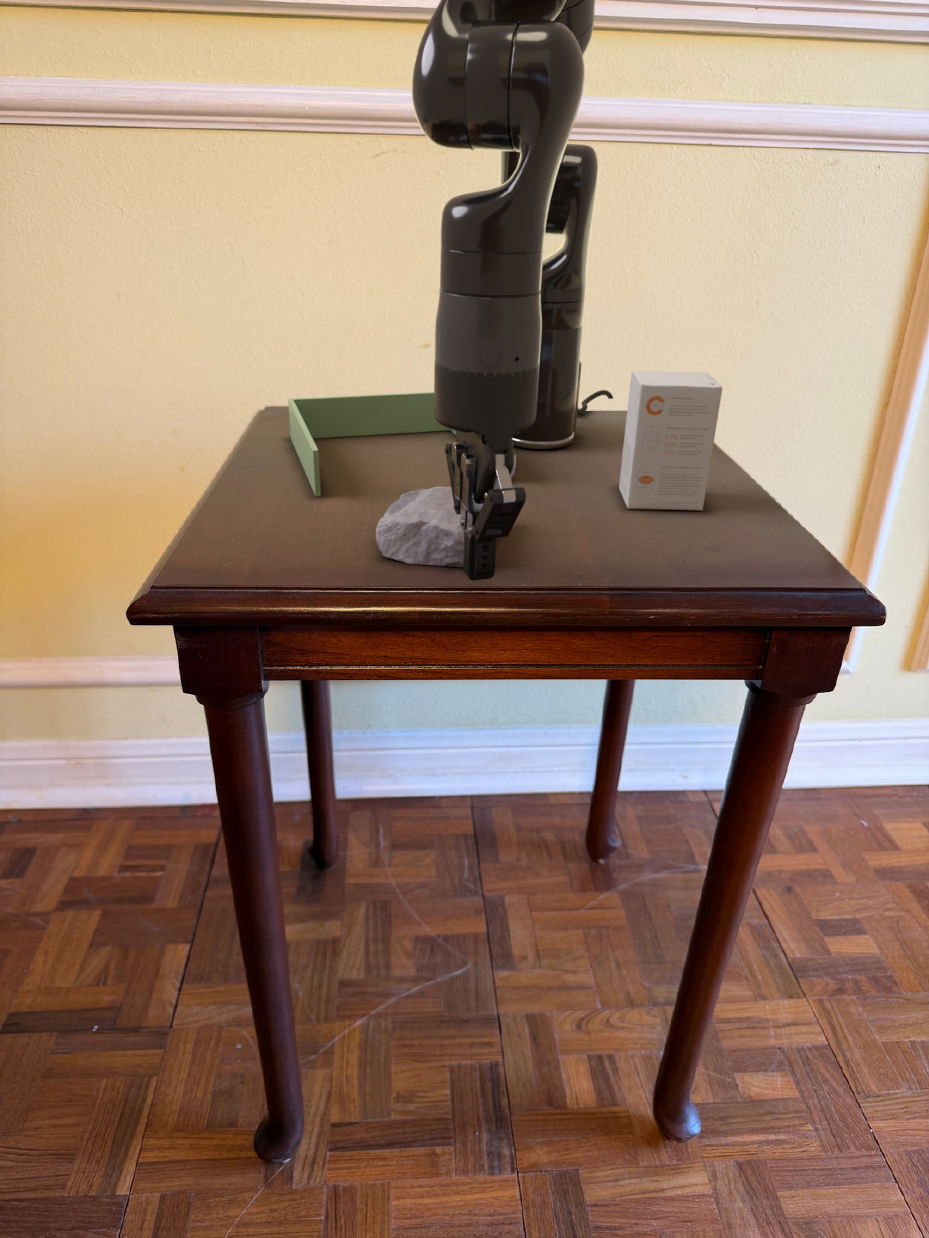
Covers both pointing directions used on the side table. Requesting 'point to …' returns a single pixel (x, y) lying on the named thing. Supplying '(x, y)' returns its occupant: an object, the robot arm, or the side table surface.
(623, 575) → the side table surface
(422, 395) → the green u-shaped fence
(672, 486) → the small box
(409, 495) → the stone block
